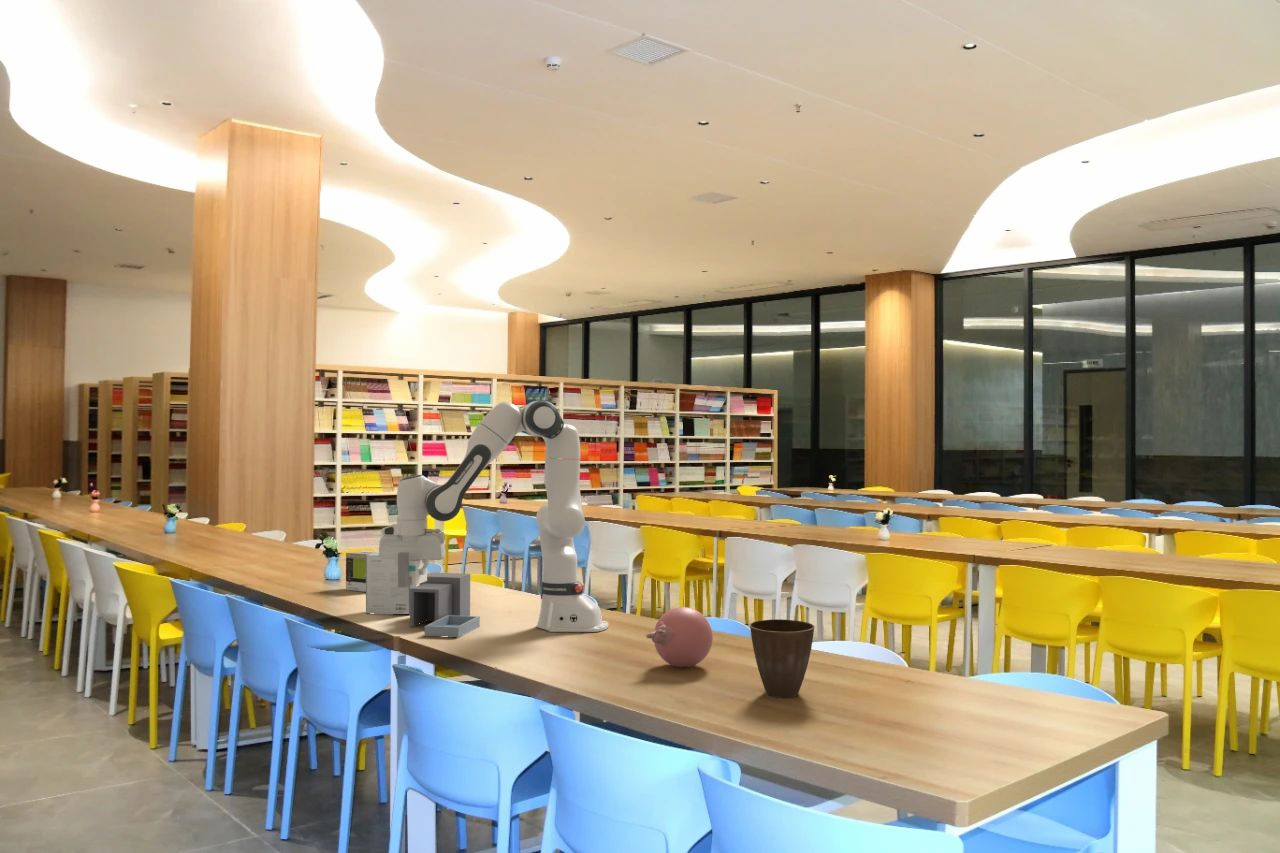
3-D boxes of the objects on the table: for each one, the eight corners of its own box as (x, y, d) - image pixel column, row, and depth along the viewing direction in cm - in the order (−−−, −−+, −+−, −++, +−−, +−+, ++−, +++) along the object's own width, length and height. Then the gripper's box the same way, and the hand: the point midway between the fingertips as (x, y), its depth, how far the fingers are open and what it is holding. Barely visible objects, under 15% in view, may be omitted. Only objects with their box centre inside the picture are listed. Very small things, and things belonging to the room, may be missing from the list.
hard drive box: (417, 611, 338) (417, 553, 338) (409, 615, 330) (410, 555, 330) (373, 610, 339) (373, 552, 339) (364, 614, 331) (365, 554, 332)
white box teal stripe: (427, 580, 305) (426, 548, 305) (410, 587, 291) (409, 553, 291) (411, 580, 305) (411, 548, 305) (393, 587, 292) (393, 553, 292)
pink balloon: (627, 667, 257) (627, 608, 257) (686, 657, 269) (687, 600, 269) (663, 679, 244) (664, 616, 244) (724, 668, 256) (724, 608, 256)
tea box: (391, 590, 384) (391, 552, 385) (371, 593, 376) (372, 554, 376) (364, 586, 392) (364, 549, 393) (344, 590, 384) (344, 552, 384)
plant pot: (806, 705, 221) (806, 633, 221) (742, 698, 227) (742, 628, 227) (819, 689, 235) (820, 622, 235) (758, 683, 240) (759, 617, 241)
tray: (479, 626, 311) (479, 616, 311) (458, 638, 293) (458, 627, 293) (447, 625, 313) (447, 615, 313) (424, 636, 295) (424, 626, 295)
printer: (470, 615, 329) (470, 573, 330) (445, 628, 308) (445, 583, 308) (430, 614, 332) (430, 572, 332) (403, 626, 310) (403, 581, 310)
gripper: (448, 528, 301) (448, 573, 301) (385, 527, 304) (385, 572, 304) (440, 530, 295) (440, 576, 295) (376, 529, 298) (376, 575, 298)
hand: (412, 574), depth 299 cm, fingers closed on white box teal stripe, 5 cm apart
